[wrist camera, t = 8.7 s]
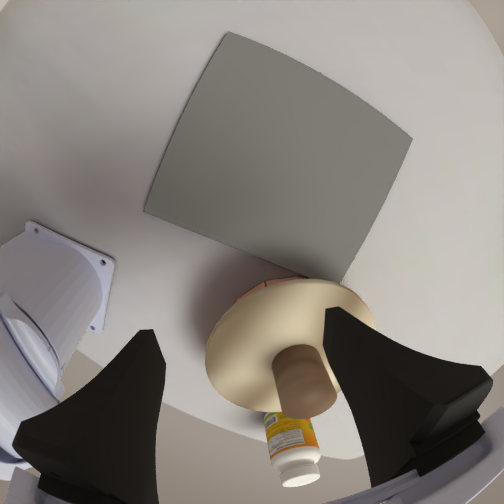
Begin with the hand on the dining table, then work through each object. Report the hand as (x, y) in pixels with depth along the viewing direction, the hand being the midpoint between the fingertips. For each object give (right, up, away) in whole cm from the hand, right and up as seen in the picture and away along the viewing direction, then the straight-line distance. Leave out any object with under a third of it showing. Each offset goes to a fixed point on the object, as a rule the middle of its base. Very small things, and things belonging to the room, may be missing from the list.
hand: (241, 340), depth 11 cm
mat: (+3, +10, +7) cm, 12 cm away
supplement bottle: (+4, -16, +18) cm, 24 cm away
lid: (+4, -4, +8) cm, 10 cm away
